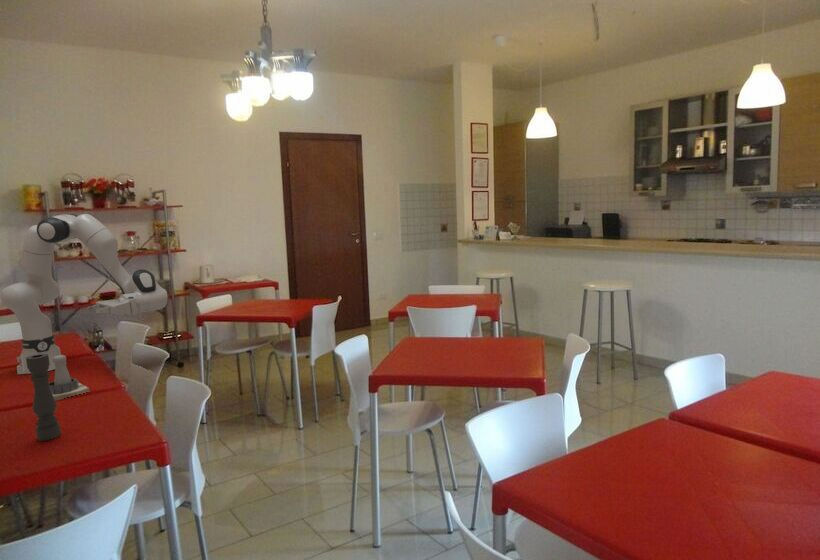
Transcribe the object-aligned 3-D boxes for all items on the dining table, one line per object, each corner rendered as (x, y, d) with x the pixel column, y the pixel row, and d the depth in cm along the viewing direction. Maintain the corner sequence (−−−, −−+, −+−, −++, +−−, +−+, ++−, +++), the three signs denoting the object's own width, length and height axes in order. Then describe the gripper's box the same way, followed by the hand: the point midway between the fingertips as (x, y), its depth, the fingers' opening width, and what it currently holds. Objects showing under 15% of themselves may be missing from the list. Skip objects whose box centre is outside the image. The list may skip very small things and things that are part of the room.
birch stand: (37, 395, 223) (36, 391, 223) (78, 385, 233) (77, 381, 233) (47, 402, 213) (47, 398, 213) (89, 392, 223) (89, 388, 223)
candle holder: (43, 433, 183) (31, 354, 179) (64, 431, 183) (53, 352, 180) (33, 441, 177) (20, 359, 173) (54, 439, 177) (42, 358, 174)
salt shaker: (76, 386, 226) (71, 353, 224) (66, 391, 220) (61, 357, 218) (61, 387, 226) (56, 354, 224) (51, 392, 220) (46, 358, 219)
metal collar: (44, 391, 223) (42, 383, 222) (73, 383, 230) (72, 376, 229) (51, 396, 216) (50, 388, 215) (81, 388, 223) (80, 381, 222)
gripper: (117, 295, 253) (82, 300, 243) (136, 298, 239) (99, 304, 229) (119, 309, 254) (84, 315, 244) (138, 314, 240) (101, 320, 230)
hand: (91, 310), depth 237 cm, fingers open, 8 cm apart
